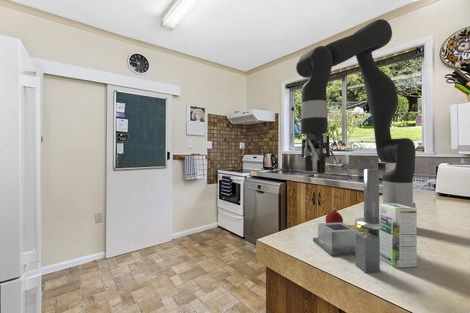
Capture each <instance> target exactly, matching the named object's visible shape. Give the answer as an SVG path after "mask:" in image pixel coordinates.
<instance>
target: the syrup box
mask: <svg viewBox="0 0 470 313" xmlns="http://www.w3.org/2000/svg"><path fill="white" fill-rule="evenodd" d="M417 211H418V209H417V208H411V207H407V206H404V205H400V204H394V203H386V204H383V203H379V220H380V230H379V234H380V260H382V261H384V262H386V263H387V264H390V265H391V266H392V267H394V268H395V269H398V268H400V269H402V268H413V267H414V268H415V267H417V253H418V252H417V249H418V248H417V243H418V241H417V240H418V239H417V237H418V236H417V235H418V232H417V231H418V228H417V227H418V226H417V225H418V224H417V223H418V220H417V216H418V212H417Z"/></svg>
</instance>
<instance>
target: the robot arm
mask: <svg viewBox="0 0 470 313" xmlns="http://www.w3.org/2000/svg"><path fill="white" fill-rule="evenodd" d="M392 37H393V30H392V27H391V24H390V23H389V22H388V20H386V19H384V18H383V19H382V18H381V19H380V18H379V19H377V20H376V19H375V20H373V21H372V22H370V23H368V24H366V25H365V26H363V27H361V28H360V29H358V30H357V31H355V32H354V33H353V34H351V35H347V36H345V37H342V38H339V39H337V40H334V41H332V42H329V43H327V44H325V45H319V46H317V47H315V48H313V49H310V51H308V52H306V53H304V54H302V55H300V57H299V58H298V59H297V61H296V64H295V70H296V73H297V74H298V75H299V76H300V77H302V78H306V79H308V78H309V79H308V81H307V82H305V83H304V84H303V85H302V87H301V105H300V106H301V108H300V134H301V135H304V136H306V137H305V138H302V139H301V158H303V159H304V171H305V172H312V171H313V169H314V167H313V157H314V155H315V159H316V161H315V162H316V165H315V166H316V167H315V168H316V174H326V160H327V159H328V158H330V157H331V152H330V151H331V150H330V149H331V148H330V135H326V134H327V133H328V132H329V130H328V129H329V128H328V127H329V126H328V124H329V123H328V120H329V119H328V116H329V115H328V111H329V110H328V105H327V104H328V103H327V88H328V87H327V86H328V85H329V80H330V76H331V71H332V68H333V67H336V66H338V65H340V64H342V63H345V62H346V61H348V60H350V59H352V58H353V57H355V58H356V60H357V63H358V67H359V70H360V73H361V77H362V80H363V84H364V89H365V94H366V100H367V104H368V107H369V111H370V116H371V121H372V125H373V126H372V127H373V133H374V141H375V142H374V143H375V149H376V155H377V158H378V159H379V160H380V161H381V162H382V163H385V164H395V166H394V168H393V169H392V170H390V171H387V172H384V173H383V174H382V178H381V179H382V204H386V203H394V204H400V205H404V206H407V207H411V208H416V202H414V184H413V183H414V181H413V180H414V175H415V173H416V172H415V169H416V152H417V151H416V145H415V143H414V141H413V140H412V139H410V138H408V137H403V138H402V137H400V138H392V135H391V124H392V120H393V118H394V115H395V114H396V112H397V108H398V106H399V96H398V91H397V87H396V83H395V82H394V81H393V79H392V78H390V76H388V74H386V73H385V72H384V71H382V70H381V69H380V68H379V67H378V65H377V64H376V62H375V59H374V57H373V56H374V55H373V52H375V51H377V50H380V49H383V48H384V47H385V46H386V45H388V44H389V43H390V41H391V40H392Z"/></svg>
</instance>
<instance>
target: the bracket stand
mask: <svg viewBox="0 0 470 313" xmlns="http://www.w3.org/2000/svg"><path fill="white" fill-rule="evenodd" d="M317 228H318V229H317V235H318V236H317V237H313V238H312V241H313V243H315V244H316V245H317V246H318V247H319V248H321V249H322V250H323V251H324V252H326V253H327V254H328V256H330V257H337V256H339V257H340V256H341V257H342V256H356V240H355V234H357V233H370V234H372V235H374V236H376V237H378V238H380V170H379V168H364V169H363V217H358V218H355V219H354V224H346V223H344V222H343V223H342V222H341V223H326V222H324V223H318V224H317Z"/></svg>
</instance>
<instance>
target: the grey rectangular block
mask: <svg viewBox="0 0 470 313" xmlns="http://www.w3.org/2000/svg"><path fill="white" fill-rule="evenodd" d="M355 240H356V255H355V266H356V268H358V269H359V270H361V271H362V272H363V273H365V274H375V273H381V271H380V270H381V267H380V266H381V259H380V238H378V237H376V236H374V235H372V234H370V233H357V234H355Z"/></svg>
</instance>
